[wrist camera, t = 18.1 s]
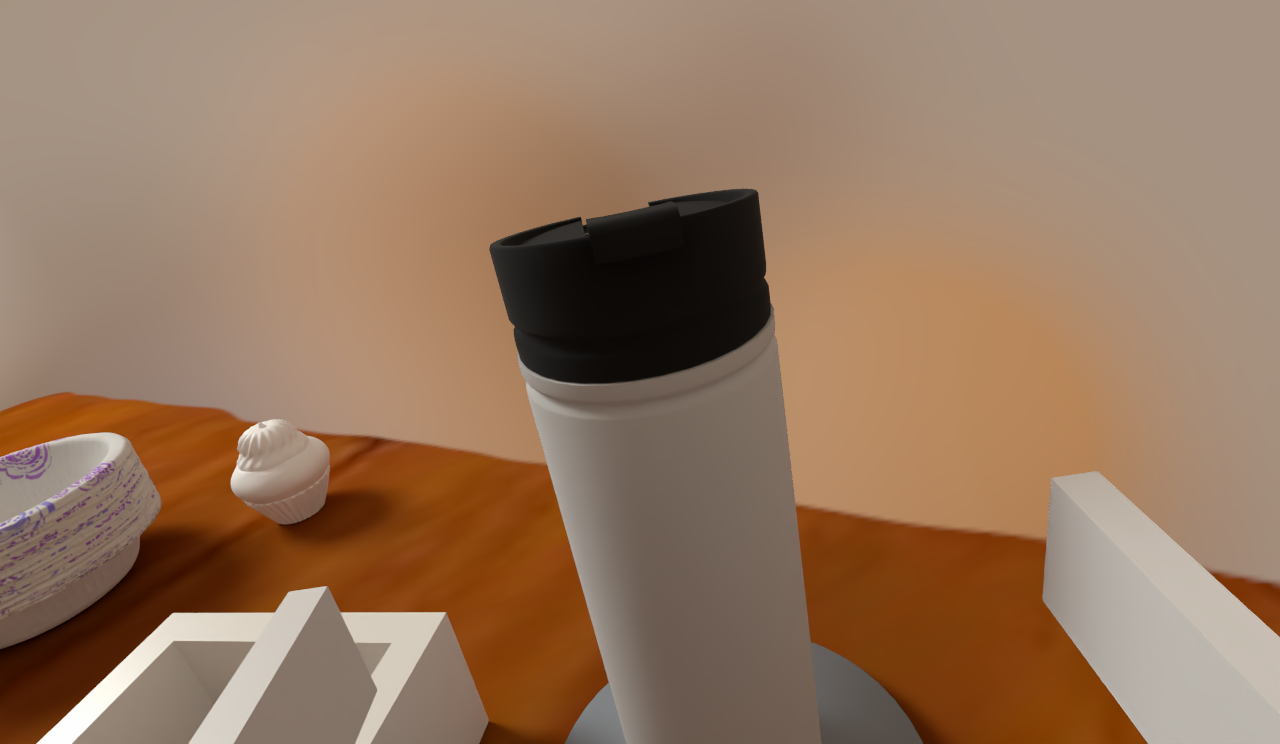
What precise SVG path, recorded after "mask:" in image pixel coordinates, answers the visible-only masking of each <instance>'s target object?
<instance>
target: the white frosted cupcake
mask: <svg viewBox="0 0 1280 744" xmlns="http://www.w3.org/2000/svg"><path fill="white" fill-rule="evenodd" d="M237 449H238V451H239V453H240V455H239V459H238V461H237V466H236V468H235V470H234V473H233V475H232V478H231V488H232V491H233V492H234V494H235V495H236V496H238V497H239V498H240V499H242V500H244V502H245V503H246V505H248V506H250V507H251V508H253V509H255V510H256V511H258V512H260V513H262V514H263V515H265V516H267V517H268V518H270V519H272V520H274V521H275V522H277V523H279V524H282V525H283V524H286V525H287V524H292V523H297V522H300V521H302V520H305V519H307V518H310V517H311V516H312V515H314V514H315V513H316V512H318V511H319V510H320V509H321V508H322V507H323V506H324V503H325V500H326V493H327V487H328V480H329V473H330V466H329V460H330V453H329V450H328V448H327V446H326V445H325V444H324V443H323V442H322V441H320V440H319V439H317V438H314V437H310V436H306V435H304V434H303V433H302V432H300V431H297V430H296V427H295V426H294V425H293V424H292V423H290V422H288V421H285V420H281V419H275V420H268V421H263V422H262V423H261V422H259V424H256V425H255V426H252V427H250V428H249V429H248V430H247V431H245V432H244V433H243V435H242V436H241V437H240V439H239V441H238V448H237Z"/></svg>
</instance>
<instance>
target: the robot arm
mask: <svg viewBox="0 0 1280 744" xmlns="http://www.w3.org/2000/svg"><path fill="white" fill-rule="evenodd" d="M1049 504H1050V505H1049V518H1048V531H1047V545H1046V559H1045V573H1044V587H1043V601H1044V603H1045V604H1046V605H1047V607H1048V608H1049V609H1050V611H1051V612H1052V613H1053V615H1054V616H1055V618H1056V619H1057V620H1058V622H1059V623H1060V624H1061V626H1062V627H1063V628H1064V630H1065V631H1066V633H1067V634H1068V635H1069V637H1070V638H1071V639H1072V641H1073V642H1074V643H1075V645H1076V646H1077V647H1078V649H1079V650H1080V652H1081V653H1082V654H1083V656H1084V657H1085V658H1086V660H1087V661H1088V662H1089V664H1090V665H1091V667H1092V668H1093V669H1094V671H1095V672H1096V673H1097V675H1098V676H1099V677H1100V679H1101V680H1102V681H1103V683H1104V684H1105V686H1106V687H1107V688H1108V690H1109V691H1110V692H1111V694H1112V695H1113V696H1114V698H1115V699H1116V701H1117V702H1118V703H1119V705H1120V706H1121V707H1122V709H1123V710H1124V711H1125V713H1126V714H1127V715H1128V717H1129V718H1130V720H1131V721H1132V722H1133V724H1134V725H1135V726H1136V728H1137V729H1138V730H1139V732H1140V733H1141V735H1142V736H1143V737H1144V739H1145V740H1146V741H1147V743H1148V744H1280V637H1279V636H1278V635H1277V634H1275V633H1274V632H1273V631H1272V630H1271V629H1270V628H1269V627H1268V626H1267V625H1266V624H1264V623H1263V622H1262V621H1261V620H1260V619H1259V618H1258V617H1257V616H1256V615H1255V614H1254V613H1252V612H1251V611H1250V610H1249V609H1248V608H1247V607H1246V606H1245V605H1244V604H1243V603H1241V602H1240V601H1239V600H1238V599H1237V598H1236V597H1235V596H1234V595H1233V594H1232V593H1231V592H1229V591H1228V590H1227V589H1226V588H1225V587H1224V586H1223V585H1222V584H1221V583H1220V582H1218V581H1217V580H1216V579H1215V578H1214V577H1213V576H1212V575H1211V574H1210V573H1209V572H1207V571H1206V570H1205V569H1204V568H1203V567H1202V566H1201V565H1200V564H1199V563H1198V562H1197V561H1195V560H1194V559H1193V558H1192V557H1191V556H1190V555H1189V554H1188V553H1187V552H1186V551H1184V550H1183V549H1182V548H1181V547H1180V546H1179V545H1178V544H1177V543H1176V542H1175V541H1174V540H1172V539H1171V538H1170V537H1169V536H1168V535H1167V534H1166V533H1165V532H1163V530H1161V529H1160V528H1159V527H1158V526H1157V525H1156V524H1155V523H1154V522H1153V521H1151V520H1150V519H1149V518H1148V517H1147V516H1146V515H1145V514H1144V513H1143V512H1142V511H1141V510H1140V509H1138V508H1137V507H1136V506H1135V505H1134V504H1133V503H1132V502H1131V501H1130V500H1129V499H1127V498H1126V497H1125V496H1124V495H1123V494H1122V493H1121V492H1120V491H1119V490H1117V488H1115V487H1114V486H1113V485H1112V484H1111V483H1110V482H1109V481H1108V480H1106V478H1104V477H1103V476H1102V475H1101V474H1100V473H1099V472H1098V471H1095V472H1089V473H1082V474H1075V475H1068V476H1062V477H1055V478H1051V489H1050V503H1049ZM376 693H377V688H376V686H375V684H374V682H373V679H372V677H371V675H370V673H369V671H368V669H367V667H366V665H365V663H364V661H363V659H362V657H361V655H360V653H359V650H358V648H357V646H356V644H355V642H354V640H353V638H352V636H351V634H350V632H349V630H348V628H347V626H346V623H345V621H344V619H343V617H342V615H341V613H340V611H339V609H338V607H337V605H336V603H335V601H334V599H333V596H332V594H331V592H330V590H329V588H328V586H324V587H318V588H311V589H304V590H297V591H291V592H288V594H287V595H286V597H285V598H284V600H283V601H282V603H281V604H280V606H279V607H278V609H277V610H276V612H275V613H274V615H273V617H272V618H271V620H270V621H269V623H268V624H267V626H266V627H265V629H264V630H263V632H262V633H261V635H260V636H259V638H258V639H257V641H256V642H255V644H254V645H253V647H252V648H251V650H250V651H249V653H248V654H247V656H246V657H245V659H244V660H243V662H242V663H241V665H240V666H239V668H238V669H237V671H236V672H235V674H234V675H233V677H232V678H231V680H230V682H229V683H228V685H227V686H226V688H225V689H224V691H223V692H222V694H221V695H220V697H219V698H218V700H217V701H216V703H215V704H214V706H213V707H212V709H211V710H210V712H209V713H208V715H207V716H206V718H205V719H204V721H203V722H202V724H201V725H200V727H199V728H198V730H197V731H196V733H195V734H194V736H193V737H192V739H191V740H190V742H189V743H188V744H355V743H356V740H357V738H358V736H359V733H360V731H361V729H362V726H363V724H364V721H365V719H366V717H367V714H368V712H369V709H370V707H371V705H372V702H373V700H374V697H375V695H376Z"/></svg>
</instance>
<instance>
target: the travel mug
mask: <svg viewBox="0 0 1280 744" xmlns="http://www.w3.org/2000/svg"><path fill="white" fill-rule="evenodd" d="M648 204H649V207H647V208H642V209H638V210H633V211H629V212H624V213H619V214H613V215H608V216H604V217H597V218H591V219H586V222H587V224H586V225H582V220H581V217H577V218H573V219H569V220H565V221H560V222H556V223H552V224H548V225H544V226H541V227H537V228H533V229H530V230H527V231H523V232H520V233H517V234H514V235H511V236H508V237H505V238H503V239H500V240H498V241H496V242H494V243H492V244H491V245H490V253H491V257H492V260H493V264H494V267H495V271H496V275H497V278H498V282H499V285H500V289H501V293H502V296H503V300H504V303H505V307H506V310H507V314H508V317H509V320H510V321H511V323H512V324H513V325H514V326H515V328H514V337H515V342H516V346H517V349H518V354H517V355H518V361H519V365H520V369H521V373H522V376H523V378H524V379H525V380H526V387H527V393H528V397H529V401H530V404H531V408H532V411H533V415H534V419H535V422H536V425H537V429H538V432H539V436H540V440H541V443H542V447H543V450H544V454H545V457H546V461H547V465H548V468H549V472H550V475H551V479H552V482H553V486H554V489H555V493H556V496H557V500H558V503H559V507H560V511H561V514H562V518H563V521H564V525H565V528H566V532H567V535H568V539H569V542H570V546H571V549H572V553H573V557H574V560H575V564H576V567H577V571H578V574H579V578H580V581H581V585H582V588H583V592H584V595H585V599H586V603H587V606H588V610H589V613H590V617H591V620H592V624H593V627H594V631H595V634H596V638H597V641H598V645H599V649H600V652H601V656H602V659H603V663H604V666H605V670H606V673H607V677H608V680H609V684H610V687H611V691H612V695H613V698H614V702H615V705H616V709H617V712H618V716H619V719H620V723H621V726H622V730H623V733H624V737H625V741H626V744H822V742H821V734H820V724H819V715H818V706H817V697H816V688H815V679H814V670H813V661H812V652H811V643H810V634H809V625H808V616H807V607H806V598H805V589H804V580H803V571H802V561H801V552H800V543H799V534H798V525H797V516H796V507H795V498H794V489H793V480H792V472H791V462H790V453H789V444H788V435H787V426H786V417H785V409H784V399H783V390H782V381H781V372H780V364H779V355H778V345H777V339H776V337H775V335H774V333H775V318H774V309H773V307H772V304H771V303H770V295H769V286H768V284H767V282H766V280H765V279H764V276H765V273H766V259H765V250H764V241H763V232H762V223H761V215H760V206H759V197H758V192H757V191H756V190H753V189H732V190H722V191H714V192H706V193H699V194H692V195H686V196H681V197H674V198H669V199H663V200H658V201H653V202H649V203H648Z"/></svg>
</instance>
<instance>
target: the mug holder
mask: <svg viewBox="0 0 1280 744" xmlns="http://www.w3.org/2000/svg"><path fill="white" fill-rule="evenodd" d="M273 615H274V613H172V614H171V615H170V616H169V617H168V618H167V619H166V620H165V621H164V622H163V623H162V624H161V625H160V626H159V627H158V628H157V629H156V630H155V631H154V632H153V633H151V634H150V635H149V636H148V637H147V638H146V639H145V640H144V641H143V642H142V643H141V644H140V645H139V646H138V647H137V648H136V649H135V650H134V651H133V652H132V653H131V654H130V655H129V656H128V657H126V658H125V659H124V660H123V661H122V662H121V663H120V664H119V665H118V666H117V667H116V668H115V669H114V670H113V671H112V672H111V673H110V674H109V675H108V676H107V677H106V678H105V679H104V680H103V681H101V682H100V683H99V684H98V685H97V686H96V687H95V688H94V689H93V690H92V691H91V692H90V693H89V694H88V695H87V696H86V697H85V698H84V699H83V700H82V701H81V702H80V703H79V704H78V705H76V706H75V707H74V708H73V709H72V710H71V711H70V712H69V713H68V714H67V715H66V716H65V717H64V718H63V719H62V720H61V721H60V722H59V723H58V724H57V725H56V726H55V727H54V728H53V729H52V730H50V731H49V732H48V733H47V734H46V735H45V736H44V737H43V738H42V739H41V740H40V741H39V742H38V743H37V744H188V743H189V742H190V740H191V739H192V737H193V736H194V734H195V733H196V731H197V730H198V728H199V727H200V725H201V724H202V722H203V721H204V719H205V718H206V716H207V715H208V713H209V712H210V710H211V709H212V707H213V706H214V704H215V703H216V701H217V700H218V698H219V697H220V695H221V694H222V692H223V691H224V689H225V688H226V686H227V685H228V683H229V682H230V680H231V678H232V677H233V675H234V674H235V672H236V671H237V669H238V668H239V666H240V665H241V663H242V662H243V660H244V659H245V657H246V656H247V654H248V653H249V651H250V650H251V648H252V647H253V645H254V644H255V642H256V641H257V639H258V638H259V636H260V635H261V633H262V632H263V630H264V629H265V627H266V626H267V624H268V623H269V621H270V620H271V618H272V617H273ZM341 615H342V617H343V619H344V621H345V623H346V626H347V628H348V630H349V632H350V634H351V636H352V638H353V640H354V642H355V644H356V646H357V648H358V650H359V653H360V655H361V657H362V659H363V661H364V663H365V665H366V667H367V669H368V671H369V673H370V675H371V677H372V679H373V682H374V684H375V686H376V688H377V693H376V695H375V697H374V700H373V702H372V705H371V707H370V709H369V712H368V714H367V717H366V719H365V721H364V724H363V726H362V729H361V731H360V733H359V736H358V738H357V740H356V743H355V744H479V743H480V741H481V739H482V736H483V734H484V731H485V729H486V727H487V724H488V722H489V719H488V717H487V714H486V712H485V709H484V707H483V704H482V702H481V699H480V697H479V694H478V691H477V689H476V686H475V684H474V681H473V679H472V676H471V674H470V671H469V669H468V666H467V664H466V661H465V659H464V656H463V654H462V651H461V649H460V646H459V644H458V641H457V639H456V636H455V634H454V631H453V629H452V626H451V624H450V621H449V619H448V616H447V614H446V612H408V613H341Z"/></svg>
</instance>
